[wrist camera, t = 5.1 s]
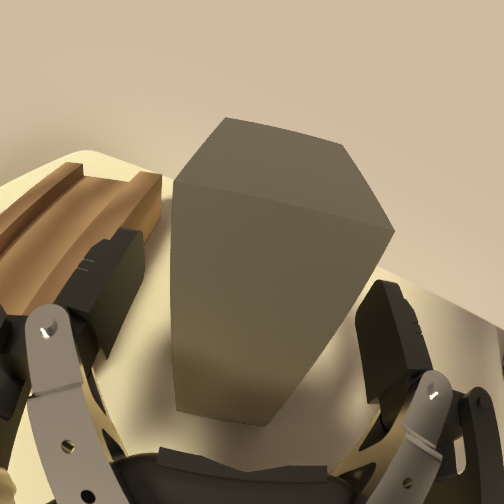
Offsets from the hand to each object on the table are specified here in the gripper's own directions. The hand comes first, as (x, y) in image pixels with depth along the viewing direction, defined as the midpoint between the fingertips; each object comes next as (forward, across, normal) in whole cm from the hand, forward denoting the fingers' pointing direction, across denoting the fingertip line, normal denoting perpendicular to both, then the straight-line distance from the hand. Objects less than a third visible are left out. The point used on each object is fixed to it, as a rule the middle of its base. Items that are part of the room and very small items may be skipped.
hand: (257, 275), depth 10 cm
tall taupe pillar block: (+1, 0, +8) cm, 8 cm away
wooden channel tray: (+5, +13, +8) cm, 16 cm away
